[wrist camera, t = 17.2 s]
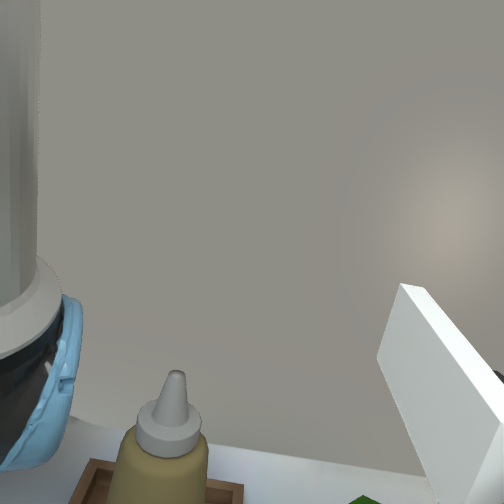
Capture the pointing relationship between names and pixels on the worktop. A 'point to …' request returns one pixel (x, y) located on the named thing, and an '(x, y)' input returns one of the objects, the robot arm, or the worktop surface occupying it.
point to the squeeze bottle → (162, 452)
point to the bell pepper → (364, 500)
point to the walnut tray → (100, 475)
